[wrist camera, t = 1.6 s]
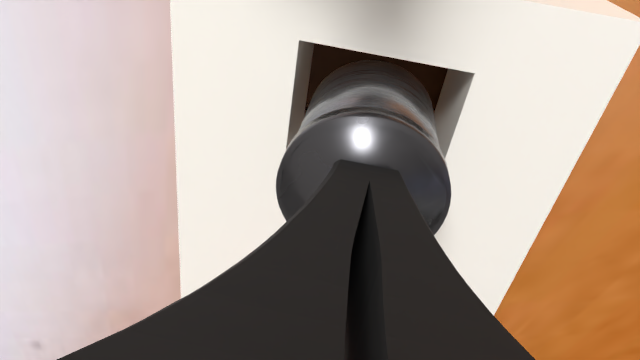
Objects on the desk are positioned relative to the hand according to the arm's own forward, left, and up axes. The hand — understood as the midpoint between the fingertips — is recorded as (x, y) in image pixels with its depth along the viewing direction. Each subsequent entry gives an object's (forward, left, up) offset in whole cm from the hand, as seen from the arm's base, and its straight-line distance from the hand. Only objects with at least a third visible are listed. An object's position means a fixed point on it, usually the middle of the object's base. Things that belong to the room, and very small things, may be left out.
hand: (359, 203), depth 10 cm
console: (0, +4, -7) cm, 8 cm away
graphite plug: (0, 0, -4) cm, 4 cm away
